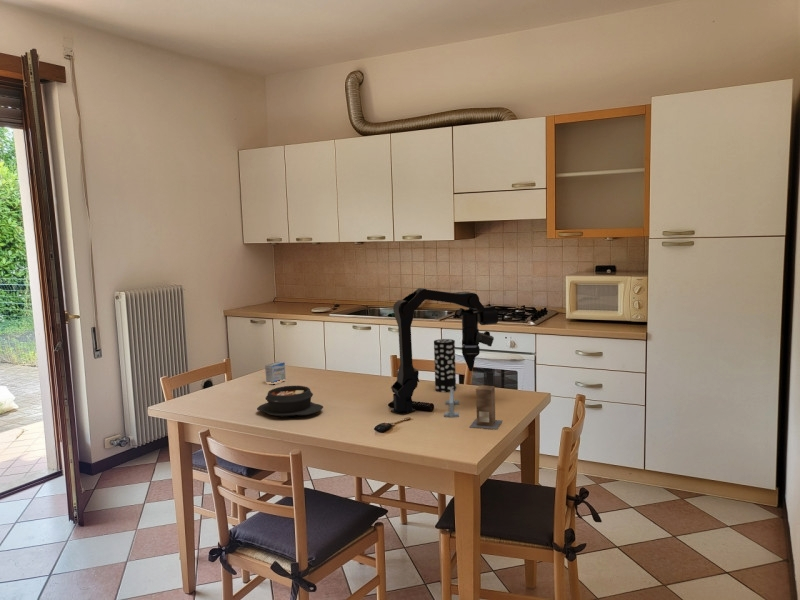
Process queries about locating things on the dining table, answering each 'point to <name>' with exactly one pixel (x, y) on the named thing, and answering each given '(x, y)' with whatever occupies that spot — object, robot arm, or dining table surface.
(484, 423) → the walnut block
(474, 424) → the mat
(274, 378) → the medicine box
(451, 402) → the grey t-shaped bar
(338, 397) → the dining table surface
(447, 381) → the spotted tube
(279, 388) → the casserole
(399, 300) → the robot arm
